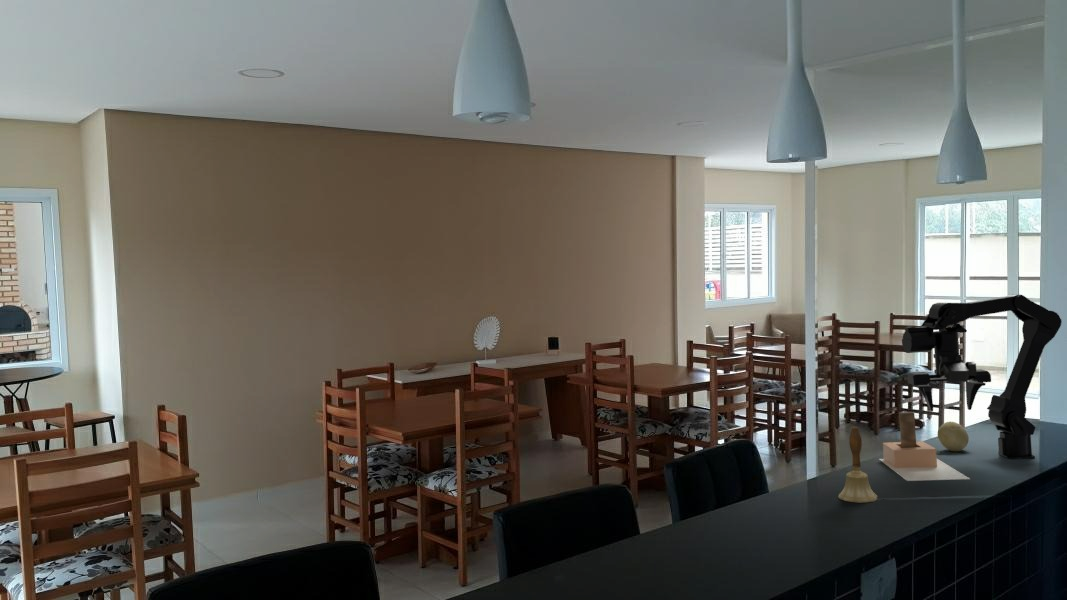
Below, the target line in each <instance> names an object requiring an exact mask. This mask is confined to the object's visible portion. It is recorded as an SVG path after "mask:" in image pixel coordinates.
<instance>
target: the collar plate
mask: <svg viewBox="0 0 1067 600" xmlns="http://www.w3.org/2000/svg"><path fill="white" fill-rule="evenodd" d="M882 450H883V451H882V453H883V458H878V460H879V461H881V462H882V463H883V464H884V465H886V466H887V467H888V468H890V469H891V470H892V471H893V472H895V473H896V474H898V475H899V476H900V477H902V478H903V480H905V481H906V482H917V481H918V482H919V481H921V482H922V481H947V480H949V481H952V480H971V478H970V477H968V476H966V475H965V474H964V473H961V472H960V471H958V470H956V469H955V468H954V467H952V466H950V465H949V464H947V463H945V462H943V461H942V460H940V459H939V458H938V457H937V449H936V448H935V447H934V446H932V445H930V444H928V443H927V442H925V441H923V440H922V441H921V440H920V441H917V440H916V447H915V448H901V441H897V442H896V441H893V442H889V441H888V442H882Z"/></svg>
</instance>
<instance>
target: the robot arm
mask: <svg viewBox="0 0 1067 600" xmlns="http://www.w3.org/2000/svg"><path fill="white" fill-rule="evenodd" d="M1005 312H1012V314H1014V316H1015V317H1016V318H1017V319H1018V320H1020V321H1021V322H1023V324H1022V327H1021V328H1022V330H1021V331H1022V337H1023V338H1022V339H1023V342H1022V344H1021V347H1020V350H1019V352H1018V355H1017V357H1016V360H1015V363H1014V365H1013V367H1012V370H1011V373H1010V376H1009V378H1008V380H1007V383H1006V386H1005V388H1004V391H1003V392H1002V393H1000V395H997V394H996V395H995V394H994V395H992V397H991V400H990V404H989V405H988V407H987V408H986V409H987V410H988V412H987V413H988V414H987V416H988V418H989V420H990V422H991V423H993V424H994V425H995V428H996V430H997V431H999V437H997V442H998V443H997V444H998V452H997V453H998V455H1000V456H1002V457H1005V459H1006V458H1007V459H1032V458H1033V459H1036V455H1034V454H1033V451H1032V449H1033V448H1032V436H1033V435H1034V434H1035V430H1036V426H1035V425H1034V424H1033V423H1032V422H1031V421H1029V420H1028V419H1027V418H1026V413H1027V405H1026V396H1027V393H1028V391H1029V388H1030V385H1031V382H1032V380H1033V377H1034V375H1035V372H1036V370H1037V367H1038V364H1039V362H1040V360H1041V359H1040V358H1041V357H1042V354H1043V352H1044V349H1045V347H1046V346H1047V345H1048V344H1049V343H1050V342H1051V341H1052V340H1053V339H1054V338H1055V336H1056V335H1057V333H1058V331H1059V330H1060V329H1061V326H1062V320H1063V319H1062V318H1061V317H1060V315H1059V313H1058V312H1055V311H1054V310H1048V309H1047V308H1046V307H1044V306H1042V305H1040V304H1038V303H1037V302H1034V301H1032V300H1031V299H1029V298H1027V297H1026V296H1025V295H1023V294H1008V295H1005V296H1000V297H995V298H994V297H993V298H987V299H981V300H974V301H969V302H935V303H933V304H932V305H930V307H929V309H928V315H927V316H926V318H925V319H924V320H923V322H922V323H921V325H920V326H905V327H904V333H903V334H902V339H901V345H902V349H903V350H904V352H905V353H906V354H913V353H927V352H928V353H929V352H931V351H932V350H933V349H934V354H933V359H934V363H935V364H934V365H935V367H934V368H935V369H934V374H929V373H927V372H925V371H917V372H916V371H915V372H909V373H908V375H907V384H910V385H912V386H913V387H915V388H917V389H918V390H919V391H920V393H921V394H922V396H923V399H924V400H925V403H926V405H927V407H928V409H929V411H930V412H934V403H933V396H932V387H933V386H932V385H930V383H932V382H934V383H935V382H949V383H956V382H963V383H965V394H966V395H965V396H966V398H965V399H966V406H967V410H969V411H971V410H972V408H973V405H974V401H975V399H976V395H977V394H978V392H979V390H980V388H982V386H986V384H987V383H991V382H992V374H991V373H990V371H988V370H984V369H981V368H980V369H978V368H977V363H976V362H975V361H965V362H963V360H962V355H961V354H960V346H959V343H960V342H959V333H960V334H961V333H967V332H968V331H967V329H966V328H964V327H963V325H961V324H960V323H963V322H964V321H965V322H966V320H969V319H971V318H974V317H980V316H986V315H991V314H997V313H1005ZM1031 435H1032V436H1031Z"/></svg>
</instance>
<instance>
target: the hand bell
mask: <svg viewBox="0 0 1067 600" xmlns="http://www.w3.org/2000/svg"><path fill="white" fill-rule="evenodd" d="M859 430H860V429H859V427H857V426H852V427H851V430H850V433H849V436H848V437H849V438H848V439H849V440H848V441H849V442H848V443H849V449H850V452H851V455H852V456H851V457H852V466H851V467H852V470H850V471H849V472H847V473H846V476H845V484H844V487H843V489H842V491H841V492H839V494H838V499H839V500H842V501H845V502H850V503H861V504H863V503H872V502H873V503H874V502H876V501H878V500H879V497H878V495H877V494H876V493H875V492H874V491H873V490H872V487H871V485H870V481H869V478H868V476H869V475H868V474H867V473H865V472H863V471H862V470H861V466H862V465H861V452H862V445H863V444H862V443H863V441H862V440H863V439H862V435H861V433H860V431H859Z"/></svg>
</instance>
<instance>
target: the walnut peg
mask: <svg viewBox="0 0 1067 600" xmlns="http://www.w3.org/2000/svg"><path fill="white" fill-rule="evenodd" d="M898 418H899V420H898V421H899V433H900V436H899V437H900V442H901V448H915V447H916V442H917V432H916V418H915V412H913V411H901V412H899V413H898Z"/></svg>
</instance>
